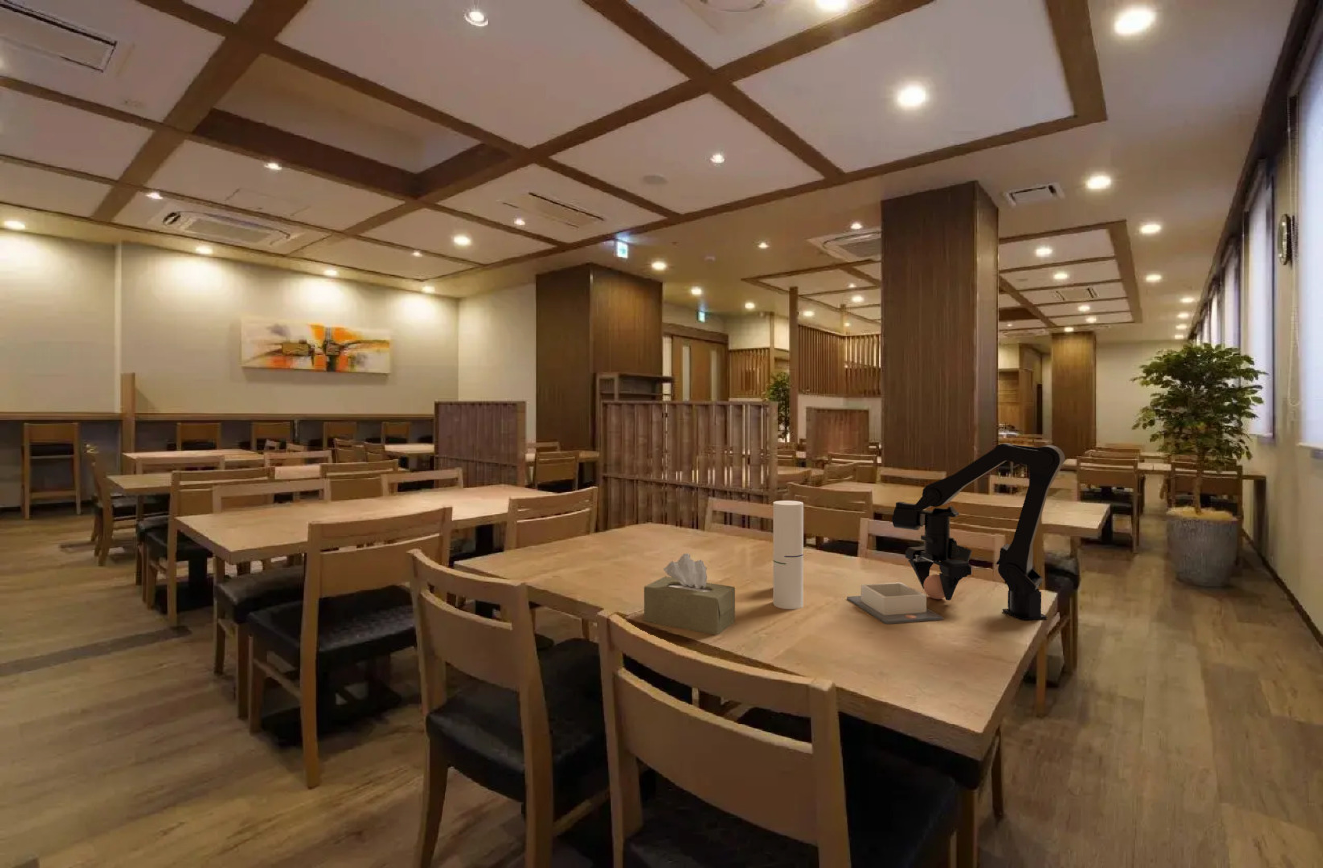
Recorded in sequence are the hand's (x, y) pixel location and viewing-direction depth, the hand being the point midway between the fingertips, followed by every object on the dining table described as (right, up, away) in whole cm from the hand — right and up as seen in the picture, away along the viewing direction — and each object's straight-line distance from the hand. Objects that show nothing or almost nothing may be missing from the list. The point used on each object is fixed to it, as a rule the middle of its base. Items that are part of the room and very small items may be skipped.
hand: (936, 594), depth 151 cm
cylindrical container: (-38, -2, -4) cm, 38 cm away
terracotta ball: (0, +2, 0) cm, 2 cm away
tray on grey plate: (-14, -1, -7) cm, 16 cm away
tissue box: (-63, -3, -15) cm, 64 cm away
